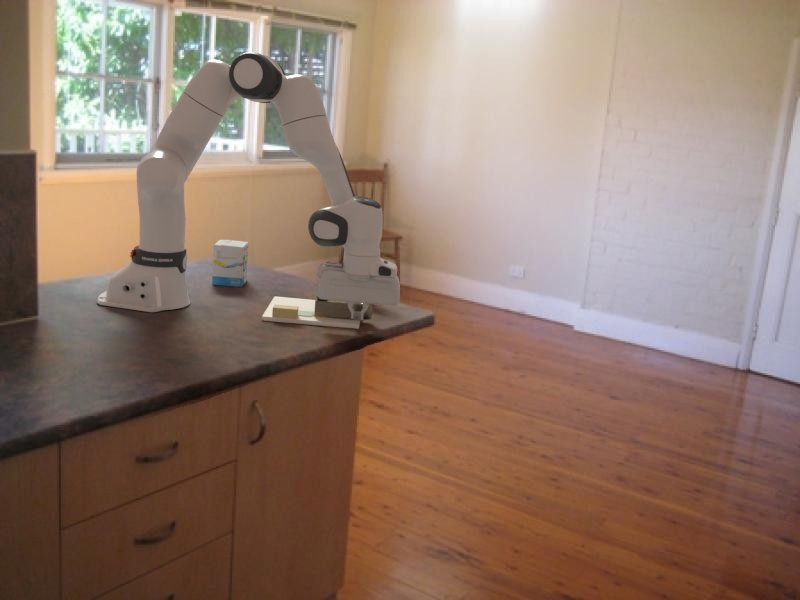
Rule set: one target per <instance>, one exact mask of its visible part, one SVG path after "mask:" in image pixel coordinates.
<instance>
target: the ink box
mask: <svg viewBox="0 0 800 600" xmlns="http://www.w3.org/2000/svg"><path fill="white" fill-rule="evenodd" d="M212 257H213V258H212V259H213V260H212V277H211V283H212V284H211V285H213V286H214V285H215V286H225V287H237V288H242V287H243V286H244V285H245V283H246V282H247V280H248V279H247V278H248V262H249V261H248V260H249V241H243V240H233V239H218V241H216V242H215V243H214V244H213V253H212Z"/></svg>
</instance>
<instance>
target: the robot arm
mask: <svg viewBox="0 0 800 600" xmlns="http://www.w3.org/2000/svg"><path fill="white" fill-rule="evenodd" d="M239 98H244V99H246V100H248V101H251V102H254V103H262V104H270V103H272V104H273V105H274V106H275V108H276V110H277V112H278V115H279V118H280V124H281V129H282V132H283V135H284V139H285V141H286V143H287V146H288V147H289V149H290V151H291V152H292V153H293V155H295V157H298V158H299V159H302V160H304V161H306V162H308V163H309V164H311V165H312V166H313V167H314V168H315V169H316V170H317V171H318V172H319V174H320V175H321V178H322V180H323V182H324V186H325V189H326V192H327V194H328V197H329V200H330V204H331V205H330V206H326V207H322V208H319V209H318V210H316V211H314V212H313V213H312V214H311V215H310V217H309V220H308V225H307V228H308V233H309V236H310V238H311V239H312V241H313V242H314V243H315V244H316V245H318V246H321V247H324V248H325V247H327V248H331V247H341V248H343V262H338V261H337V262H331V261H324V262H322V263H320V264H319V265H318V268H317V276H318V277H317V278H319V282H318V287H317V294H316V296H317V295H318V297H319V298H320V299H324V300H335V301H346V302H348V308H349V310H350V312H351V319H353V320H360V321H363V314H364V313H365V311H366V310H367V309H368V306H369V304H373V305H380V306H381V305H383V306H390V307H391V306H393V307H397V306H398V305H399V304H400V302H401V285H400V284H401V283H400V278H399V276H398V275H397V273H398V266H397V264H396V263H394V262H392V261H389V260H387V259H385V258H382V257H381V247H380V246H381V245H380V244H381V241H382V238H383V229H384V228H383V227H384V226H383V221H384V220H383V218H384V216H383V209H382V206H381V204H380V203H379V202H378V201H376V200H375V199H372V198H369V197H366V196H356V194H355V191H354V190H353V186H352V183H351V180H350V177H349V174H348V172H347V168H346V166H345V163H344V160H343V157H342V154H341V153H340V151H339V148H338V146H337V144H336V142H335V139H334V136H333V133H332V130H331V127H330V123H329V120H328V115H327V112H326V109H325V106H324V102H323V99H322V97H321V94H320V91H319V90H318V88H317V85H316V83H315V81H314V80H313V78H312V77H310V76H308V75H305V74H300V73H297V74H291V75H286V73H285V71H284V69H283V67H282V66H281V65H280V64H279V63H277V62H276V61H275V60H274V59H273V58H271V57H269V56H267V55H265V54H261V53H259V52H255V51H248V52H244V53H241V54H239V55H237V56H236V57H235V58H234V59H233V61H232V63H230V64H229V63H227V62H225V61H222V60H219V59H209V60H207V61H206V62H205V61H204V63H203V64H202V65H201V66H200V68H199V69H198V70H196V72H195V73H194V75H193V76H192V78H191V79H189V82H188V83H187V85H185V87H184V89H183V91H182V93H181V94H180V96H179V98H178V100H177V102H176V103H175V105H174V107H173V108H172V110H171V112H170V113H169V115H168V116H167V119H166V121H165V123H164V124H163V127H162V129H161V131H160V133H159V135H158V136H157V138H156V141H155V142H154V144H153V145H152V148H151V149H150V151H148V153H147V154H145V155H144V156H143V157H142V158H141V159H140V161H139V162H138V164H137V167H136V190H137V191H136V192H137V201H138V203H137V204H138V213H139V215H138V216H139V237H138V238H139V244H137V245H136V246H134V247H133V249H132V250H131V252H129V254H130V255H129V257H130V258H131V259H130V260H131V261H130V262H128V263H127V264H126V265H125V266H123V267H122V268H120V269H119V270H117V271H116V272H114V273H113V274H112V275H111V276H110V278H109V280H108V283H107V287H106V290H105V291H104V292H102V293H100V294H99V295H98V296H97V304H98V305H100V306H105V307H106V306H107V307H113V308H119V309H125V310H133V311H139V312H140V311H141V312H147V313H157V312H161V311H168V310H171V311H172V310H176V309H177V310H178V309H182V308H185V307H188V306H189V305H190V304H191V301H190V298H189V293H188V288H187V280H186V270H187V266H188V265H187V264H188V256H187V249H186V248H185V247H186V211H185V210H186V207H185V183H186V182H187V179H188V178H189V176H190V175H191V173H192V171H193V170H194V168H195V166H196V165H197V162H198V160H199V159H200V157H201V156H202V154H203V152H204V150H205V148H206V147H207V145H208V143H209V142H210V140H211V138H212V137H213V135H214V133H215V132H216V130H217V129H218V127H219V125H220V123H221V121H222V120H223V119H224V116H225V115H226V113H227V111H228V110H229V108H230V106H231V105H232V104H233V102H234V101H236V100H237V99H239ZM354 302H357V303H363V307H364V308H363V309H362V311H361V312H358V311H354V309H353V307H352V306H353V305H354Z"/></svg>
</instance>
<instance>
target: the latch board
mask: <svg viewBox="0 0 800 600" xmlns="http://www.w3.org/2000/svg"><path fill="white" fill-rule="evenodd" d="M315 300H316V299H308V298H307V299H306V298H296V297H287V296H276V295H275V296H273V298H272V300H271V301H270V303H269V305H268V306H267V308H266V309H265V311H264V313H263V314H262V316H261V321H264V322H265V321H266V322H277V323H278V322H279V323H289V324H299V325H301V324H302V325H309V326H310V325H312V326H323V327H335V328H343V329H344V328H346V329H357V330H359V329H360V326H361V325H360V324H361V320H353V319H351V318H340V317H328V316H317V315H314V313H315Z"/></svg>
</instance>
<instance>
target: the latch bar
mask: <svg viewBox="0 0 800 600" xmlns="http://www.w3.org/2000/svg"><path fill="white" fill-rule="evenodd" d="M314 300H315V313H314V315H317V316H328V317H340V318H351V312H350V310H349V308H348V302H346V301H335V300H324V299H320V298H319V297H318V295H317V294H316V298H315V299H314ZM373 305H374V304H369V306H368V309H367V310H366V311H365V313H364V314H363V320H365V321H367V320H368V321H369V320H372V315H373V314H372V313H373ZM352 307H353V309H354V311H358V312H361V311H362V309H363V308H364V307H363V303H357V302H354V305H353V306H352ZM363 320H362V321H363Z"/></svg>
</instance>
